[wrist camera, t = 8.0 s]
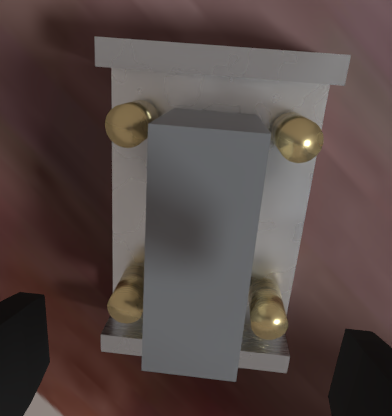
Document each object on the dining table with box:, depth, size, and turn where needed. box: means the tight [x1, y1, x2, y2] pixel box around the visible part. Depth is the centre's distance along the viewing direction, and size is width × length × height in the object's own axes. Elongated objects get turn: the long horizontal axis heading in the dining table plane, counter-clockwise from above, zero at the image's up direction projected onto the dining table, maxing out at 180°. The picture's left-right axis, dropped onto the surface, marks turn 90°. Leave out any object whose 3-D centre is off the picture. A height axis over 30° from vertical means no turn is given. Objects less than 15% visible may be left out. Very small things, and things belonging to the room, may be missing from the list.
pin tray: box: [94, 36, 351, 373], centre depth 16 cm, size 9×14×4 cm, turn 176°
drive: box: [142, 108, 271, 382], centre depth 14 cm, size 4×9×6 cm, turn 176°
